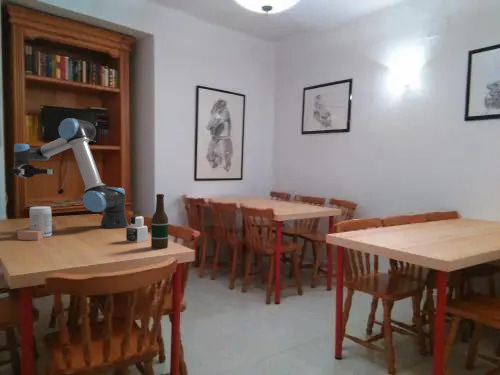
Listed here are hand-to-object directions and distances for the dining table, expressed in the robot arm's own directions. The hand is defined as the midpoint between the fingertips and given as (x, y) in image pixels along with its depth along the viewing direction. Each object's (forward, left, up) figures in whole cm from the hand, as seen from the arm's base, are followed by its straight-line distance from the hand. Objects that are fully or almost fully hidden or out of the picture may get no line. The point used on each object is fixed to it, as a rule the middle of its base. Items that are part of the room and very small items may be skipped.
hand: (38, 171), depth 194 cm
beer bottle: (-76, +18, -32) cm, 85 cm away
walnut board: (-1, +2, -32) cm, 32 cm away
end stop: (-10, +18, -32) cm, 38 cm away
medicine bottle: (-60, +8, -32) cm, 69 cm away
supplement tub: (-10, +11, -32) cm, 35 cm away
